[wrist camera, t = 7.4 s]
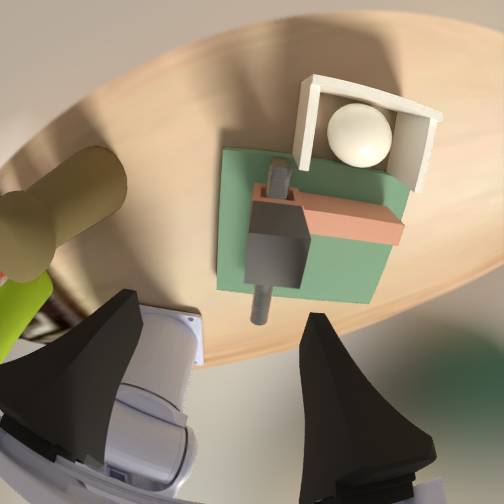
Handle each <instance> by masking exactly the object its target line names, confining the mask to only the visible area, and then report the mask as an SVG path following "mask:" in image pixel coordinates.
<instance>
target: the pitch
mask: <svg viewBox="0 0 504 504" xmlns="http://www.w3.org/2000/svg"><path fill="white" fill-rule="evenodd" d="M273 156H275V157H283V158H286V162H287V164H288V165H291V166H292V173H291V180H290V187H293V188H298V189H299V192H304V193H311V194H318V195H325V196H331V197H337V198H344V199H350V200H355V201H361V202H367V203H372V204H377V205H382V206H387V207H388V208H389V209H390V210H391V211H392V212H393V213H394V214H395V215H396V216H397V217H398V218H399V220H400V221H401V219H402V216H403V212H404V209H405V206H406V202H407V199H408V195H409V192H410V189H409V188H408V187H406V186H405V185H404V184H402V183H401V182H400V181H398V180H397V179H396V178H394V177H393V176H391V175H390V174H389V173H387V172H386V171H381V170H377V169H373V168H368V167H365V168H360V167H354V166H351V165H348V164H346V163H344V162H339V161H333V160H328V159H322V158H316V157H311V159H310V165H309V171H304V170H299V169H298V166H297V164H296V162H295V159H294V157H293V155H292V154H289V153H281V152H273V151H265V150H255V149H245V148H233V147H225V148H224V149H223V156H222V172H221V189H220V209H219V231H218V259H217V290H222V291H230V292H239V293H248V294H254V287H255V284H246V283H244V276H245V266H246V256H247V246H248V243H247V242H248V232H249V222H250V212H251V202H252V195H253V190H254V184H255V183H260V184H267V182H268V173H269V165H270V163H272V157H273ZM310 237H311V244H310V248H309V253H308V257H307V261H306V266H305V270H304V274H303V278H302V282H301V286H300V289H294V288H284V287H274V286H273V290H272V296H276V297H287V298H298V299H309V300H321V301H334V302H348V303H363V304H369V303H370V301H371V299H372V297H373V294H374V292H375V290H376V287H377V285H378V282H379V280H380V277H381V275H382V272H383V270H384V267H385V265H386V262H387V259H388V257H389V254H390V251H391V248H392V246H393V245H389V244H382V243H375V242H367V241H360V240H353V239H345V238H338V237H330V236H322V235H315V234H310Z"/></svg>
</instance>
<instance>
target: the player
mask: <svg viewBox="0 0 504 504" xmlns="http://www.w3.org/2000/svg"><path fill="white" fill-rule="evenodd" d="M266 190H267V184H260V183H255V184H254V190H253V195H252V202H251V212H250V222H249V232H248V242H247V243H248V246H247V256H246V266H245V276H244V283H246V284H255V285H265V286H274V287H284V288H294V289H300V286H301V282H302V278H303V274H304V270H305V266H306V261H307V257H308V253H309V248H310V244H311V237H310V234H315V235H322V236H330V237H338V238H345V239H353V240H360V241H367V242H375V243H382V244H389V245H395V246H398V244H399V241H400V238H401V236H402V233H403V230H404V227H405V225H404V224H403V223H402V222H401V221H400V220H399V218H398V217H397V216H396V215H395V214H394V213H393V212H392V211H391V210H390V209H389V208H388V207H387V206H382V205H377V204H372V203H367V202H361V201H355V200H350V199H344V198H337V197H331V196H325V195H318V194H311V193H304V192H299V189H298V188H293V187H289V193H288V200H281V199H273V198H266Z"/></svg>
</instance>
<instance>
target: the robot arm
mask: <svg viewBox="0 0 504 504" xmlns="http://www.w3.org/2000/svg"><path fill="white" fill-rule="evenodd" d="M190 317H191V318H190ZM203 364H204V352H203V332H202V317H201V316H200V315H199V314H194V313H187V312H181V311H174V310H168V309H162V308H156V307H150V306H145V305H139V302H138V297H137V292H136V291H134V290H129V289H123V290H121V291H120V292H119V293H117V294H116V295H115V296H114V297H112V298H111V299H110V300H109V301H107V302H106V303H105V304H104V305H103V306H101V307H100V308H99V309H98V310H96V311H95V312H94V313H93V314H91V315H90V316H89V317H88V318H86V319H85V320H83V321H82V322H81V323H79V324H78V325H77V326H75V327H74V328H73V329H71V330H70V331H69V332H67V333H66V334H64V335H63V336H61V337H59V338H58V339H56V340H55V341H53V342H51V343H49V344H48V345H46V346H44V347H42V348H40V349H38V350H36V351H34V352H32V353H30V354H28V355H26V356H23V357H21V358H18V359H16V360H13V361H10V362H7V363H3V364H0V410H1V411H2V412H3V413H4V415H3V416H2V417H1V416H0V477H1V478H2V479H3V480H4V481H5V482H6V483H7V484H8V485H9V486H10V487H12V488H13V489H14V490H15V491H16V492H17V493H18V494H19V495H21V496H22V497H23V498H24V499H25V500H26V501H28V502H29V503H30V504H203V503H197V502H191V501H185V500H181V499H176V498H175V497H176V495H177V493H178V491H179V489H180V487H181V485H182V484H183V483H184V482H185V481H186V480H187V479H188V477H189V475H190V473H191V472H192V469H193V467H194V463H195V460H196V455H197V439H196V436H195V434H194V431H193V429H192V428H191V427H189V426H187V425H186V422H187V418H188V416H187V415H185V414H183V408H184V404H185V400H186V395H187V391H188V387H189V383H190V379H191V375H192V371H193V367H194V365H203ZM299 367H300V376H301V385H302V393H303V402H304V412H305V443H304V461H303V474H302V482H301V491H300V497H299V504H446V497H445V491H444V485H443V479H442V477H438V478H435V479H433V480H430V481H427V482H424V483H421V484H419V485H416V486H413V485H412V481H414V480H415V479H416V477H415V472H417V471H418V470H420V469H422V468H424V467H426V466H428V465H429V464H431V463H432V462H434V461H435V460H436V458H437V456H436V452H435V447H434V443H433V440H432V437H431V436H429V435H428V434H426V433H425V432H424V431H422V430H421V429H419V428H418V427H416V426H415V425H414V424H412V423H411V422H410V421H408V420H407V419H406V418H405V417H404V416H402V415H401V414H400V413H399V412H398V411H397V410H396V409H394V408H393V407H392V406H391V405H390V404H389V403H388V402H387V401H386V400H385V399H384V398H383V397H382V396H381V395H380V393H379V392H378V391H377V390H376V389H375V388H374V387H373V386H372V384H371V383H370V382H369V381H368V380H367V378H366V377H365V376H364V374H363V373H362V372H361V371H360V369H359V368H358V366H357V365H356V364H355V362H354V360H353V359H352V358H351V356H350V355H349V353H348V351H347V350H346V348H345V347H344V345H343V344H342V342H341V341H340V339H339V337H338V335H337V334H336V332H335V330H334V329H333V327H332V325H331V323H330V322H329V320H328V318H327V316H326V315H325V313H312V312H310V314H309V317H308V320H307V323H306V327H305V330H304V333H303V336H302V339H301V342H300V345H299Z"/></svg>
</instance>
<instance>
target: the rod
mask: <svg viewBox="0 0 504 504" xmlns="http://www.w3.org/2000/svg"><path fill="white" fill-rule="evenodd" d="M291 173H292V166H291V165H288V164H287V162H286V158H283V157H275V156H273V157H272V163H270V165H269V173H268V182H267V190H266V198H273V199H281V200H288V193H289V187H290V180H291ZM272 290H273V286H265V285H255V287H254V295H253V303H252V311H251V318H250V319H251V322H252V323H253V324H255V325H264V324H265V323H266V322H267V318H268V312H269V307H270V302H271V296H272Z"/></svg>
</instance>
